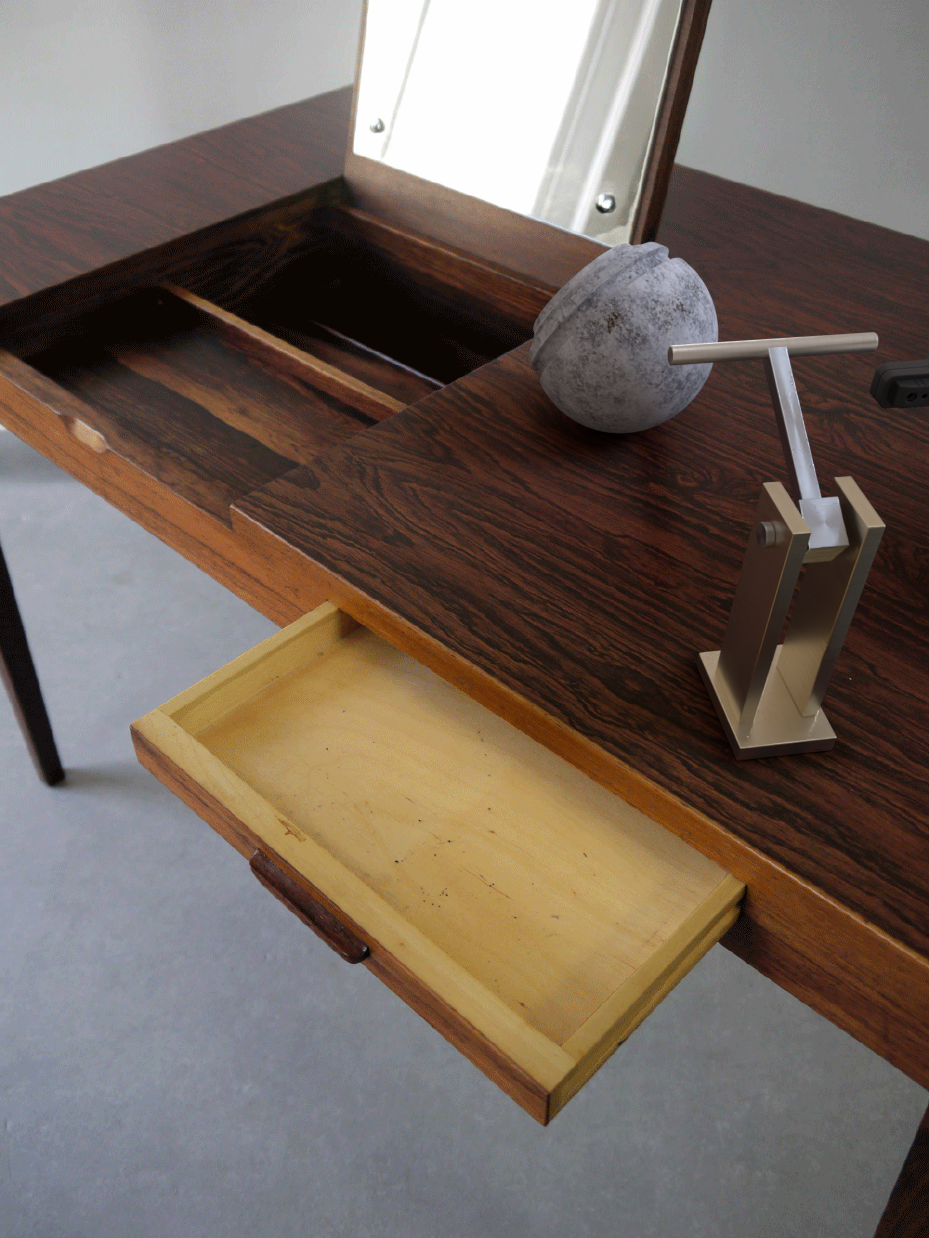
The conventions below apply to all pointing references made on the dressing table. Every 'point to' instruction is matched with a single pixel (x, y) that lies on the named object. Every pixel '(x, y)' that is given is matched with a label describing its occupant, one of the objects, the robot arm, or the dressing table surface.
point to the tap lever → (791, 420)
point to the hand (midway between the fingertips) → (878, 386)
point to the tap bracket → (802, 666)
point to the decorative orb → (624, 339)
